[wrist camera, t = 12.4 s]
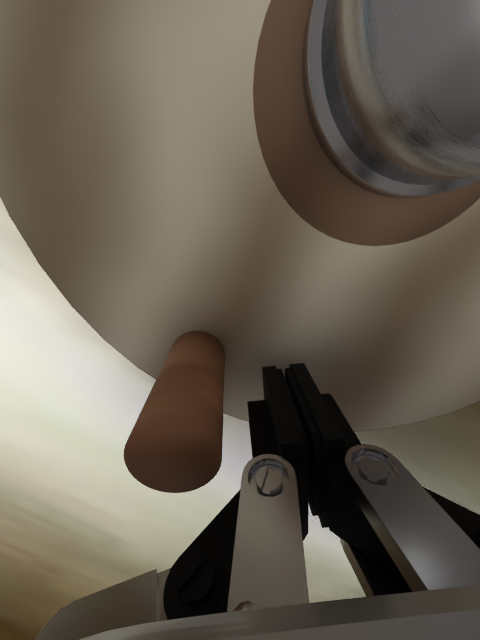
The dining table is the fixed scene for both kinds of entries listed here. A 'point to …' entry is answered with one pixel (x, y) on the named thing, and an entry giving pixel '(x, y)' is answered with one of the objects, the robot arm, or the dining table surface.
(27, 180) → the turntable
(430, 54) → the cover
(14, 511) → the dining table surface
